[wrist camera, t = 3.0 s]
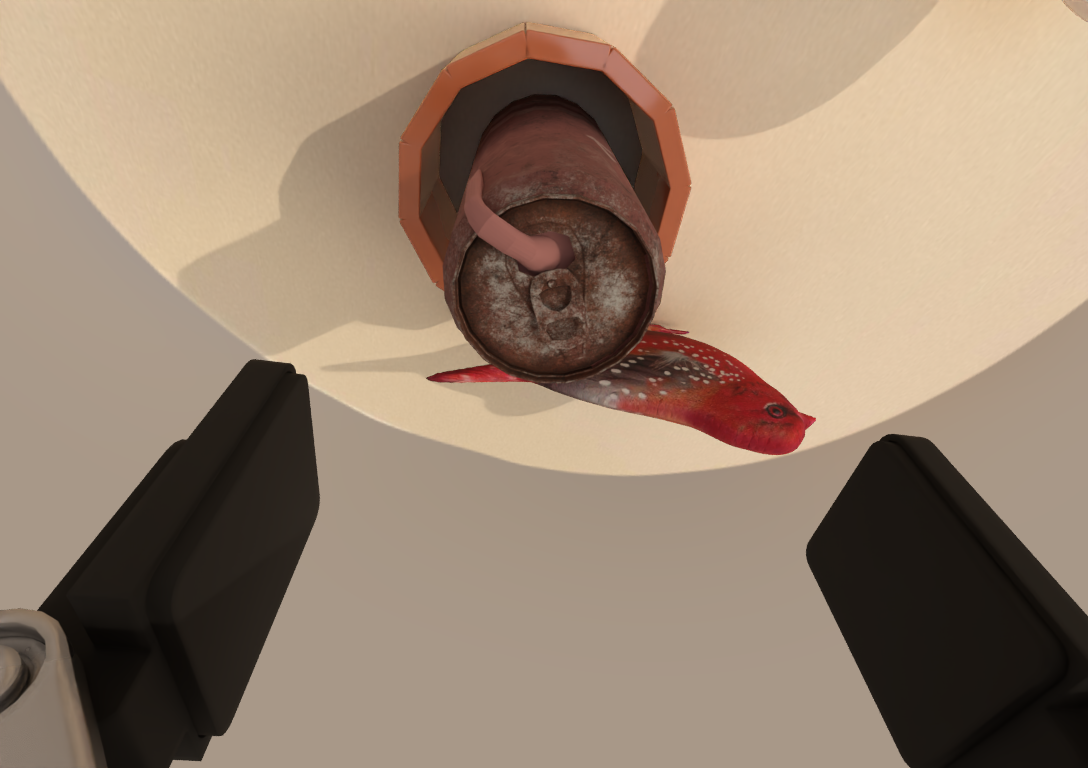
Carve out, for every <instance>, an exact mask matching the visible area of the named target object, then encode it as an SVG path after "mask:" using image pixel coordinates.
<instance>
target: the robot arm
mask: <svg viewBox="0 0 1088 768" xmlns="http://www.w3.org/2000/svg"><path fill="white" fill-rule="evenodd" d="M319 495H320V494H319V485H318V476H317V466H316V456H315V447H314V437H313V427H312V418H311V408H310V398H309V389H308V381H307V378H306V376H305V375H303V374H296V370H295V368H294V366H293V365H292V364H290V363H282V362H273V361H265V360H256V359H253V360H250V361H249V362H248V363H246V365H245V366H244V367H243V368H242V370H241V371H240V372H239V374H238V375H237V376H236V378H235V379H234V380H233V381H232V383H231V384H230V385H229V387H228V388H227V389H226V390H225V392H224V393H223V394H222V395H221V397H220V398H219V399H218V400H217V402H216V403H215V405H214V406H213V407H212V408H211V409H210V411H209V412H208V413H207V415H206V416H205V417H204V419H203V420H202V421H201V422H200V424H199V425H198V426H197V427H196V429H195V430H194V431H193V433H192V434H191V435H190V436H189V438H188V439H187V440H183V439H182V440H180V441H177V442H175V443H174V444H173V445H172V446H170V447H169V449H167V450H166V452H165V453H164V454H163V455H162V456H161V458H160V459H159V460H158V461H157V463H156V464H155V465H154V466H153V468H152V469H151V470H150V471H149V473H148V474H147V475H146V476H145V478H144V479H143V480H142V481H141V482H140V484H139V485H138V486H137V487H136V489H135V490H134V491H133V492H132V494H131V495H130V496H129V497H128V499H127V500H126V501H125V502H124V504H123V505H122V506H121V507H120V509H119V510H118V511H117V512H116V514H115V515H114V516H113V517H112V518H111V520H110V521H109V522H108V523H107V525H106V526H105V527H104V528H103V530H102V531H101V532H100V533H99V535H98V536H97V537H96V538H95V539H94V541H93V542H92V543H91V544H90V546H89V547H88V548H87V549H86V551H85V552H84V553H83V554H82V556H81V557H80V558H79V559H78V560H77V562H76V563H75V564H74V565H73V567H72V568H71V569H70V570H69V572H68V573H67V574H66V575H65V577H64V578H63V579H62V581H61V582H60V583H59V584H58V585H57V587H56V588H55V589H54V590H53V592H52V593H51V594H50V595H49V597H48V598H47V599H46V600H45V601H44V603H43V604H42V605H41V606H40V608H39V609H38V610H37V611H35V610H28V609H21V608H18V609H9V610H0V768H169V767H170V765H171V763H172V760H189V761H201V760H202V758H203V756H204V753H205V751H206V749H207V746H208V744H209V742H210V739H211V737H212V736H222V735H223V734H224V733H225V732H226V731H227V729H228V728H229V726H230V724H231V722H232V720H233V718H234V715H235V713H236V711H237V708H238V706H239V703H240V701H241V698H242V696H243V694H244V691H245V689H246V686H247V684H248V682H249V679H250V677H251V674H252V672H253V669H254V667H255V665H256V662H257V660H258V658H259V655H260V653H261V650H262V648H263V645H264V643H265V641H266V638H267V636H268V633H269V631H270V629H271V626H272V624H273V621H274V619H275V617H276V614H277V612H278V609H279V607H280V605H281V602H282V600H283V597H284V595H285V593H286V590H287V588H288V585H289V583H290V580H291V578H292V576H293V573H294V571H295V568H296V566H297V564H298V561H299V559H300V556H301V554H302V551H303V549H304V547H305V544H306V542H307V540H308V537H309V535H310V532H311V530H312V527H313V525H314V522H315V520H316V517H317V513H318V510H319V501H320V496H319ZM806 557H807V562H808V564H809V567H810V569H811V571H812V573H813V575H814V577H815V579H816V581H817V583H818V585H819V587H820V589H821V591H822V593H823V595H824V597H825V599H826V602H827V604H828V606H829V608H830V610H831V612H832V614H833V616H834V618H835V620H836V622H837V624H838V626H839V628H840V630H841V633H842V635H843V637H844V639H845V641H846V643H847V645H848V647H849V649H850V651H851V653H852V655H853V657H854V659H855V661H856V664H857V665H858V668H859V670H860V672H861V674H862V676H863V678H864V680H865V682H866V684H867V686H868V688H869V690H870V692H871V695H872V697H873V699H874V701H875V703H876V704H877V707H878V709H879V711H880V713H881V715H882V717H883V719H884V721H885V723H886V725H887V728H888V730H889V731H890V734H891V736H892V737H893V740H894V742H895V744H896V746H897V748H898V750H899V752H900V754H901V756H902V758H903V759H904V761H905V762H906V763H907V765H908V766H909V767H910V768H1088V616H1087V615H1086V614H1085V613H1084V611H1082V609H1081V608H1080V607H1079V606H1078V605H1077V604H1076V602H1074V600H1073V599H1072V598H1071V597H1070V596H1069V595H1068V594H1067V592H1065V590H1064V589H1063V588H1062V587H1061V586H1060V585H1059V584H1058V582H1057V581H1056V580H1055V579H1054V578H1053V577H1052V576H1051V574H1050V573H1049V572H1048V571H1047V570H1046V569H1045V568H1044V567H1043V566H1042V564H1041V563H1040V562H1039V561H1038V560H1037V559H1036V558H1035V557H1034V556H1033V555H1032V553H1031V552H1030V551H1029V550H1028V549H1027V548H1026V547H1025V545H1024V544H1023V543H1022V542H1021V541H1020V540H1019V539H1018V538H1017V537H1016V535H1015V534H1014V533H1013V532H1012V531H1011V530H1010V529H1009V528H1008V526H1007V525H1006V524H1005V523H1004V522H1003V521H1002V520H1001V519H1000V518H999V517H998V515H997V514H996V513H995V512H994V511H993V510H992V509H991V507H990V506H989V505H988V504H987V503H986V502H985V501H984V500H983V499H982V497H981V496H980V495H979V494H978V493H977V492H976V491H975V490H974V488H973V487H972V486H971V485H970V484H969V483H968V482H967V481H966V480H965V478H964V477H963V476H962V475H961V474H960V473H959V472H958V471H957V469H956V468H955V467H954V466H953V465H952V464H951V463H950V462H949V461H948V459H947V458H946V457H945V456H944V455H943V454H942V453H941V452H940V450H939V449H938V448H937V447H936V446H935V445H934V444H933V443H932V442H931V441H930V440H928V439H926V438H923V437H915V436H907V435H898V434H888V435H886V436H884V437H882V438H881V439H880V441H877V442H875V443H873V444H872V445H871V446H870V447H869V449H868V451H867V452H866V454H865V455H864V457H863V458H862V460H861V461H860V463H859V465H858V466H857V468H856V469H855V471H854V472H853V474H852V476H851V477H850V479H849V480H848V482H847V483H846V485H845V486H844V488H843V489H842V491H841V492H840V494H839V496H838V497H837V499H836V500H835V502H834V503H833V505H832V507H831V508H830V510H829V511H828V513H827V514H826V516H825V517H824V519H823V520H822V522H821V523H820V525H819V527H818V528H817V530H816V531H815V533H814V534H813V536H812V538H811V539H810V541H809V542H808V545H807V549H806Z"/></svg>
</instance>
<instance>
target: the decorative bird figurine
mask: <svg viewBox="0 0 1088 768" xmlns="http://www.w3.org/2000/svg"><path fill="white" fill-rule="evenodd" d="M670 333H671V334H670ZM673 333H675V334H686V333H689V332H687V331H679V330H672V329H666V328H663V327H662V326H659V325H653V324H650V325H649V327H648V329H647V331H646V333H645V334H644V336H643V338H642V340H641V342H640V343H639V344H638V345H637V346H636V347H635V348H634V349H633V350H632V351H631V352H630V353H629V354H628V355H627V356H626V357H625V358H624V359H623V360H622V361H621V362H619V363H618V364H616V365H614V366H612V367H610V368H609V369H607V370H605V371H603V372H601V373H599V374H598V375H596V376H594V377H590V378H586V379H582V380H578V381H574V382H570V383H536V384H538V385H541V386H543V387H546V388H548V389H551V390H553V391H555V392H558V393H561V394H564V395H567V396H570V397H573V398H576V399H579V400H582V401H585V402H589V403H593V404H597V405H600V406H603V407H607V408H611V409H615V410H620V411H625V412H629V413H634V414H639V415H644V416H648V417H653V418H657V419H662V420H666V421H670V422H674V423H678V424H681V425H685V426H689V427H692V428H695V429H697V430H699V431H701V432H704V433H706V434H708V435H710V436H712V437H714V438H716V439H718V440H720V441H722V442H724V443H727V444H729V445H732V446H734V447H738V448H742V449H746V450H750V451H753V452H758V453H762V454H769V455H782V454H787V453H790V452H793V451H794V450H795V449H797V448H798V446H799V445H800V444H801V442H802V440H803V438H804V436H805V430H806V429H807V428H808V427H809V426H811V425H812V424H813V423H814V422H815V421H816V418H813V417H812V416H808V415H806V414H803V413H800V412H798V410H797V409H796V408H795V407H794V406H793V405H792V404H791V403H790V402H789V401H788V400H787V399H786V398H785V397H784V396H783V395H782V394H781V393H780V392H779V391H778V390H776V389H775V388H773V387H772V386H770V385H769V384H767V383H766V382H765V381H764V380H762V379H761V378H760V377H759V376H758V375H756V374H755V373H754V372H753V371H752V370H751V369H750V368H748V367H747V366H746V365H744V364H743V363H742V362H740V361H739V360H737V359H736V358H734V357H732V356H730V355H729V354H727V353H725V352H723V351H721V350H719V349H717V348H715V347H712V346H710V345H708V344H705V343H702V342H699V341H696V340H693V339H690V338H687V337H683V336H680V335H675V334H673ZM426 379H428V380H430V381H435V382H450V383H453V382H460V383H462V382H508V381H512V382H531V381H528V380H524V379H521V378H517V377H514V376H510V375H508V374H506V373H504V372H503V371H501V370H500V369H498V368H496V367H495V366H493V365H491V364H489V365H484V366H476V367H472V368H465V369H458V370H454V371H446V372H442V373H437V374H435V375H432V376H430V377H427V378H426ZM532 383H535V382H532Z"/></svg>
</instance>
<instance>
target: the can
mask: <svg viewBox="0 0 1088 768" xmlns="http://www.w3.org/2000/svg"><path fill="white" fill-rule="evenodd" d="M442 267H443V281H444V294H445V300H446V303H447V305H448V307H449V310H450V312H451V314H452V316H453V319H454V321H455V323H456V326H457V328H458V329H459V330H460V331H461V332H462V334H463V335H464V337H465V339H466V340H467V341H468V342H469V343H470V345H471V346H472V347H473V348H474V349H475V350H476V351H477V353H478V354H479V355H480V356H481V357H482V358H483V359H484V360H485V361H487V362H488V363H490V364H491V365H493V366H495V367H496V368H498V369H500V370H501V371H503V372H504V373H506V374H508V375H510V376H514V377H517V378H521V379H524V380H528V381H531V382H535V383H570V382H574V381H578V380H582V379H586V378H590V377H594V376H596V375H598V374H599V373H601V372H603V371H605V370H607V369H609V368H610V367H612V366H614V365H616V364H618V363H619V362H621V361H622V360H623V359H624V358H625V357H626V356H627V355H628V354H629V353H630V352H631V351H632V350H633V349H634V348H635V347H636V346H637V345H638V344H639V343H640V342H641V340H642V338H643V336H644V334H645V333H646V331H647V329H648V327H649V325H650V323H651V321H652V319H653V318H654V315H655V312H656V310H657V308H658V306H659V304H660V302H661V296H662V290H663V284H664V279H665V273H666V270H665V264H664V258H663V252H662V246H661V240H660V237H659V236H658V234H657V232H656V230H655V228H654V226H653V225H652V223H651V221H650V219H649V217H648V216H647V214H646V212H645V210H644V208H643V206H642V205H641V203H640V201H639V199H638V197H637V195H636V194H635V192H634V190H633V188H632V186H631V185H630V183H629V181H628V179H627V177H626V175H625V174H624V172H623V170H622V168H621V166H620V164H619V163H618V161H617V159H616V157H615V155H614V154H613V152H612V150H611V148H610V146H609V144H608V143H607V141H606V139H605V137H604V135H603V134H602V132H601V130H600V128H599V127H598V125H597V123H596V121H595V120H594V118H593V117H591V116H590V115H589V114H588V113H587V112H586V111H585V110H584V109H582V108H581V107H580V106H579V105H578V104H576V103H574V102H571V101H569V100H566V99H564V98H561V97H559V96H556V95H532V96H528V97H525V98H522V99H519V100H516V101H513V102H511V103H510V104H509V105H508V106H506V107H505V108H504V109H502V110H501V111H500V112H498V113H497V114H496V115H495V116H494V117H493V119H492V120H491V122H490V123H489V125H488V126H487V128H486V129H485V131H484V132H483V134H482V136H481V139H480V143H479V146H478V149H477V152H476V156H475V159H474V162H473V165H472V169H471V172H470V175H469V178H468V182H467V185H466V188H465V191H464V195H463V198H462V201H461V204H460V208H459V211H458V214H457V217H456V221H455V224H454V227H453V230H452V234H451V237H450V241H449V244H448V248H447V252H446V255H445V259H444V262H443V266H442Z"/></svg>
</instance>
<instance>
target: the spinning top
mask: <svg viewBox="0 0 1088 768" xmlns="http://www.w3.org/2000/svg"><path fill="white" fill-rule="evenodd" d="M1062 1H1063V2H1064V4H1065V5H1066V6H1067V7H1068V8H1069V9H1070V10H1071V11H1072V12H1073V13H1075V14H1076V15H1077V16H1079V17H1080V18H1081V19H1083V20H1084V21H1086V22H1088V0H1062Z"/></svg>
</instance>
